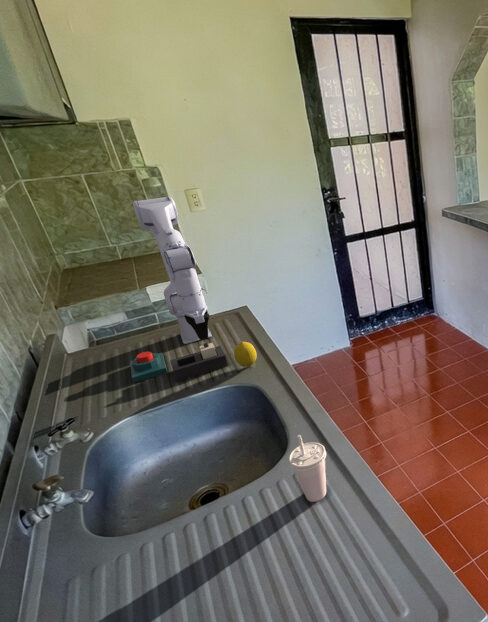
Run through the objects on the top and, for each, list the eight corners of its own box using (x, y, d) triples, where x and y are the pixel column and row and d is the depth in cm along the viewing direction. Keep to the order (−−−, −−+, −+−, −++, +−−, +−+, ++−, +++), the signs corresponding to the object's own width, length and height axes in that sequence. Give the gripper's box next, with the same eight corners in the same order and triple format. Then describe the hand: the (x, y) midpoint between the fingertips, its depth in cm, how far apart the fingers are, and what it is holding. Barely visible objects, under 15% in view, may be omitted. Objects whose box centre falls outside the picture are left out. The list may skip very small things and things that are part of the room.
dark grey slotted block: (173, 370, 128) (170, 360, 126) (223, 355, 134) (220, 345, 133) (177, 382, 122) (173, 371, 121) (228, 365, 129) (225, 355, 127)
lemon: (262, 361, 130) (256, 337, 127) (253, 372, 125) (246, 347, 122) (244, 361, 131) (238, 337, 127) (234, 371, 126) (227, 346, 122)
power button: (138, 359, 128) (135, 354, 127) (152, 355, 130) (150, 350, 129) (138, 364, 125) (136, 359, 124) (153, 360, 127) (151, 355, 126)
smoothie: (296, 487, 87) (282, 429, 81) (330, 476, 89) (318, 419, 83) (300, 512, 81) (284, 452, 75) (336, 500, 84) (324, 440, 78)
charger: (204, 364, 130) (198, 343, 127) (217, 360, 132) (211, 339, 129) (206, 369, 128) (199, 347, 125) (219, 365, 129) (213, 343, 126)
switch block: (131, 366, 131) (127, 355, 129) (163, 357, 135) (160, 347, 133) (133, 383, 123) (129, 372, 121) (167, 372, 127) (163, 362, 125)
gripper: (169, 288, 124) (184, 332, 129) (175, 304, 113) (191, 352, 119) (198, 282, 127) (211, 325, 133) (206, 297, 116) (220, 343, 122)
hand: (203, 337), depth 126 cm, fingers closed
